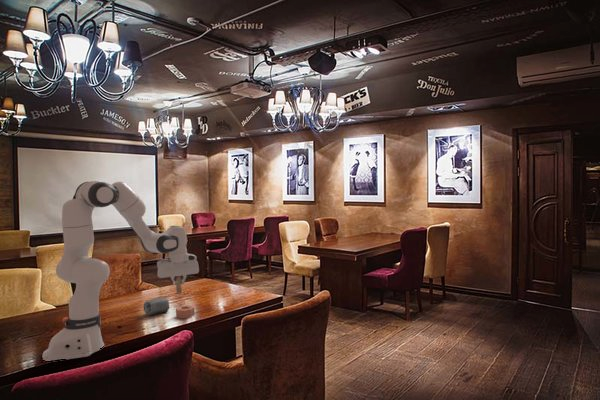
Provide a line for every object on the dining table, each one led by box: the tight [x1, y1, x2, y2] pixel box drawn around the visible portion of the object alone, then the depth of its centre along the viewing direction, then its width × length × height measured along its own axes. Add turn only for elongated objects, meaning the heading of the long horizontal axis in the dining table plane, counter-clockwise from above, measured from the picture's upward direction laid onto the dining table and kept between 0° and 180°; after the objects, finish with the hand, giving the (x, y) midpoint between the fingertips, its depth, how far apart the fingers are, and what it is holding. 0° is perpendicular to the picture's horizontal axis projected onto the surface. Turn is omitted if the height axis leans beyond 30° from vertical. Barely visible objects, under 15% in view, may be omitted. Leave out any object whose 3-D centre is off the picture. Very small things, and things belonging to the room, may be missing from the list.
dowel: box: [175, 276, 183, 295], centre depth 201 cm, size 2×2×10 cm
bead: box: [175, 304, 196, 319], centre depth 211 cm, size 9×9×4 cm
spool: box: [143, 296, 170, 316], centre depth 215 cm, size 14×10×10 cm
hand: (178, 284), depth 201 cm, fingers closed on dowel, 2 cm apart
